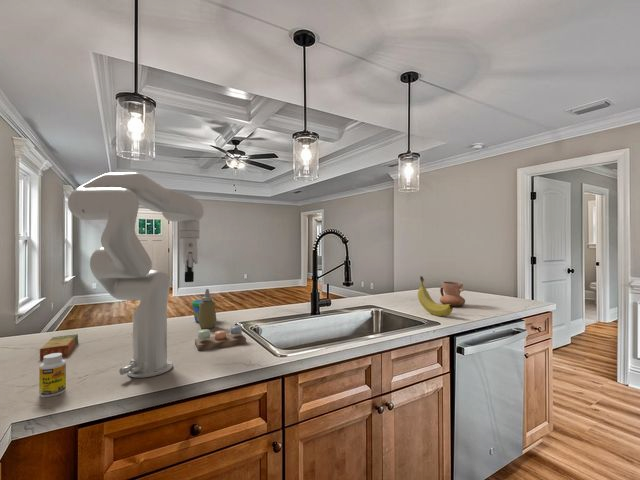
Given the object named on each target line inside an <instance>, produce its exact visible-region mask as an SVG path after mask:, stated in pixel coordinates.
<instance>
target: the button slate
mask: <svg viewBox="0 0 640 480" xmlns="http://www.w3.org/2000/svg"><path fill="white" fill-rule="evenodd" d="M240 333H241V334H243V326H242V325H240V324H239V325H237V324H236V325H232V326H230V334H240Z"/></svg>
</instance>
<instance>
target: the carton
mask: <svg viewBox="0 0 640 480" xmlns="http://www.w3.org/2000/svg"><path fill="white" fill-rule="evenodd" d="M76 345H77V346H78V345H79V335H78V333H77V334H68V335H62V336H61V335H60V336H53V337H51V338H50V339H49V340H48V341H47V342H46V343H45V344H44V345H43V346H42V347H40V349H39V360H43V357H44V356H46V355H48V354H53V353H62V356H63V357H69V356H70V355H71V353H72V352H73V351H72V350H75V348H76V347H77V346H76ZM75 346H76V347H75ZM69 354H70V355H69ZM68 355H69V356H68Z"/></svg>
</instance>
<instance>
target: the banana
mask: <svg viewBox="0 0 640 480" xmlns="http://www.w3.org/2000/svg"><path fill="white" fill-rule="evenodd" d="M419 278H420V279H419V280H420V283H421V284H420V287H419V288H418V290H417V298H418V301H419V303H420V305H421V306H422V307H423V308H424V310H426V312H427V313H429V314H431V315H433V316H436V317H446V316H449V315H450V314H451V313H452V312H453V311H454V309H453V308H454V307H453V306H452V305H451V304H446V305H444V304H440V303H437V302H436V301H434V300H433V298H432V297H431V295H430V294H429V292H428V290H427V288H426V287H425V285H424V281H425V279H424V277H423V276H421V275H420V276H419Z"/></svg>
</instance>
